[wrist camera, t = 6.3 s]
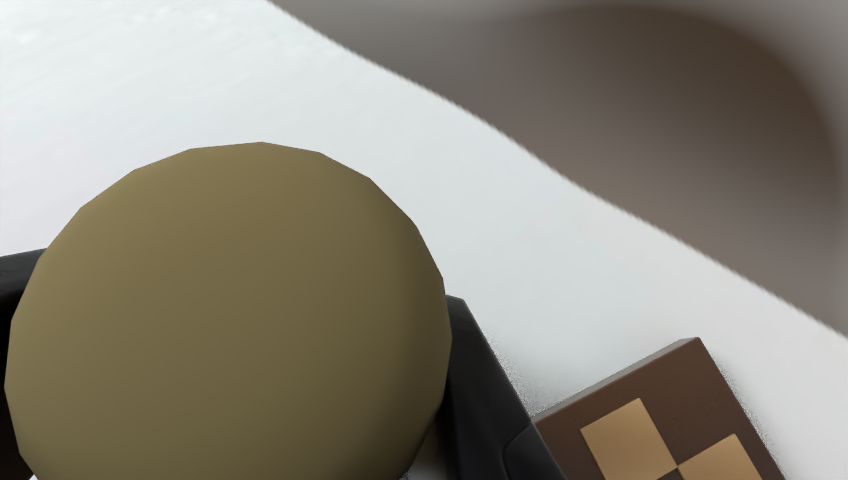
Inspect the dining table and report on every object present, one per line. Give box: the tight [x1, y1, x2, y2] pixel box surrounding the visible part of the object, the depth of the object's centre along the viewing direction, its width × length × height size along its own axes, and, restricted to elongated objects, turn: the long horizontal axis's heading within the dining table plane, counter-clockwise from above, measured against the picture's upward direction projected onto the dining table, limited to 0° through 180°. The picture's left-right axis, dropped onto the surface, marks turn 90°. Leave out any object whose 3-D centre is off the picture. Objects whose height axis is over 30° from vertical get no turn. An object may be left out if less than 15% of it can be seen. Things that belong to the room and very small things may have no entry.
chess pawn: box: [4, 142, 452, 480], centre depth 10 cm, size 6×6×11 cm
